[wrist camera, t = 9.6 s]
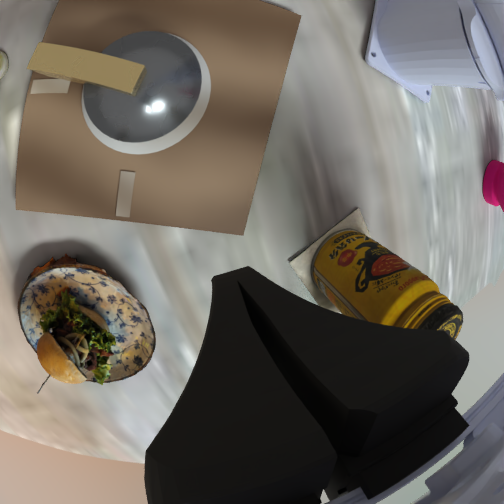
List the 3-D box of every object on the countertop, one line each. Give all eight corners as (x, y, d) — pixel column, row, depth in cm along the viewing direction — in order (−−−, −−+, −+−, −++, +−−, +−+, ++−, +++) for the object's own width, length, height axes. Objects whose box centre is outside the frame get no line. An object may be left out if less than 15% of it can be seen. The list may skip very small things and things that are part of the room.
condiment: (357, 206, 22) (476, 276, 11) (383, 272, 26) (469, 344, 16) (288, 261, 22) (381, 371, 12) (327, 318, 26) (400, 409, 16)
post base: (72, -15, 8) (67, -22, 7) (296, 19, 14) (303, 13, 13) (20, 206, 14) (13, 211, 13) (240, 231, 20) (244, 237, 19)
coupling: (215, 62, 13) (228, 46, 10) (171, 154, 15) (172, 161, 12) (79, 22, 9) (62, 2, 6) (37, 114, 11) (9, 113, 8)
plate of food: (153, 374, 23) (159, 442, 17) (38, 359, 19) (21, 421, 13) (161, 261, 19) (164, 330, 13) (15, 243, 15) (-34, 298, 9)
